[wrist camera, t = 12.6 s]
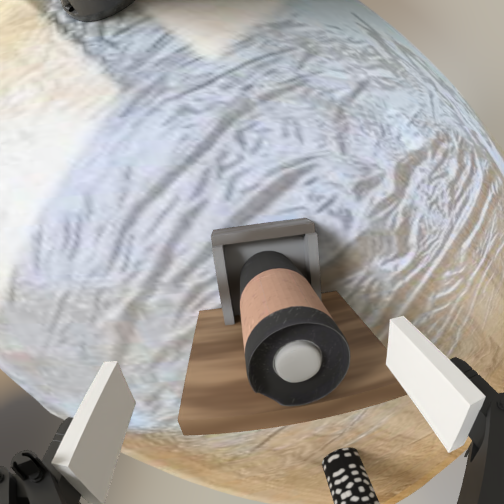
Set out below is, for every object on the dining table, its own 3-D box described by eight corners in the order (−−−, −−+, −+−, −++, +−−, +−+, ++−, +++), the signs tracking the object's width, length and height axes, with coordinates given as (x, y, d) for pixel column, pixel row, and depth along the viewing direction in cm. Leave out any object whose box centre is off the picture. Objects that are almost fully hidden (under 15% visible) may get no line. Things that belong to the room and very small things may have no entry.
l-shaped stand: (185, 234, 40) (137, 296, 19) (332, 214, 41) (424, 254, 20) (202, 323, 43) (183, 435, 22) (336, 303, 44) (407, 394, 23)
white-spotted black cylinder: (327, 450, 53) (352, 524, 33) (362, 445, 53) (393, 513, 34) (318, 470, 55) (338, 539, 35) (351, 466, 55) (376, 530, 36)
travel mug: (293, 243, 38) (352, 309, 19) (299, 299, 40) (351, 395, 21) (233, 253, 38) (236, 331, 19) (242, 309, 40) (253, 415, 21)
